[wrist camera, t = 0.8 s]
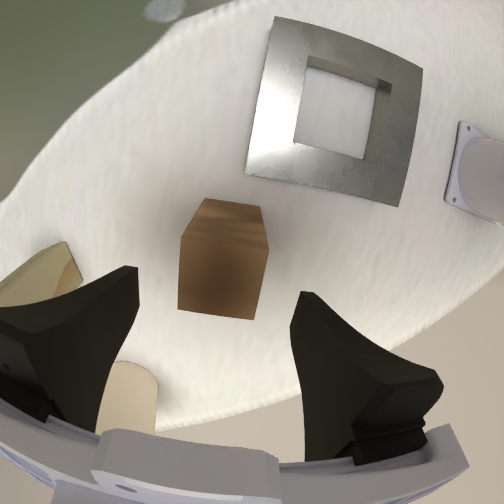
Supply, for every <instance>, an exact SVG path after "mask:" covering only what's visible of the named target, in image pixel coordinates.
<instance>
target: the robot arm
mask: <svg viewBox="0 0 504 504" xmlns="http://www.w3.org/2000/svg"><path fill="white" fill-rule="evenodd" d="M467 128H468V130H467ZM453 198H454V200H453ZM445 200H446V202H447V203H449V204H452V205H454V206H457V207H459V208H461V209H464V210H466V211H468V212H471V213H473V214H475V215H478V216H480V217H482V218H484V219H486V220H489V221H491V222H493V223H496V222H499V223H501V224H503V225H504V141H499V140H494V139H490V138H488V137H487V136H486V135H484V134H483V133H482V132H480V131H479V130H478V129H476V128H475V127H473V126H472V125H470V124H469V123H467V122H466V121H461V122H460V125H459V132H458V139H457V145H456V150H455V156H454V161H453V166H452V171H451V175H450V179H449V184H448V188H447V192H446V196H445ZM452 200H453V201H452ZM139 306H140V303H139V283H138V267H132V266H126V265H125V266H123V267H120V268H118V269H116V270H114V271H112V272H110V273H108V274H107V275H105V276H103V277H101V278H99V279H97V280H95V281H93V282H91V283H89V284H87V285H85V286H82V287H80V288H78V289H76V290H74V291H71V292H69V293H66V294H63V295H61V296H58V297H55V298H51V299H47V300H44V301H40V302H36V303H31V304H26V305H19V306H9V307H0V455H1V456H3V457H4V458H5V459H7V460H8V461H9V462H11V463H12V464H14V465H15V466H17V467H18V468H19V469H21V470H22V471H24V472H25V473H27V474H29V475H30V476H32V477H33V478H35V479H37V480H38V481H40V482H42V483H44V484H45V485H47V486H49V487H50V488H52V489H54V494H53V497H52V501H51V504H407V503H410V502H412V501H415V500H417V499H419V498H422V497H424V496H426V495H428V494H430V493H432V492H434V491H435V490H437V489H439V488H440V487H442V486H443V485H445V484H447V483H448V482H450V481H451V480H453V479H454V478H455V477H457V476H458V475H460V474H461V473H463V472H464V471H466V470H467V469H468V468H469V464H468V462H467V459H466V457H465V455H464V453H463V451H462V449H461V447H460V444H459V442H458V440H457V438H456V436H455V434H454V432H453V430H452V428H451V426H450V424H445V425H442V426H439V427H436V428H433V429H431V430H429V431H427V432H425V433H424V432H423V429H422V427H424V426H425V421H424V419H423V416H424V415H425V414H426V413H427V412H428V411H429V410H430V409H431V408H432V407H433V405H434V404H435V403H436V402H437V401H438V399H439V398H440V396H441V394H442V392H443V388H444V385H443V383H442V381H441V380H440V378H439V376H438V375H437V373H436V371H435V370H433V369H430V368H427V367H424V366H421V365H418V364H415V363H412V362H410V361H408V360H405V359H403V358H401V357H399V356H397V355H395V354H393V353H390V352H389V351H387V350H385V349H383V348H382V347H380V346H378V345H377V344H375V343H373V342H372V341H370V340H369V339H368V338H366V337H365V336H363V335H362V334H361V333H359V332H358V331H357V330H355V329H354V328H353V327H352V326H350V325H349V324H348V323H347V322H346V321H345V320H343V319H342V318H341V317H340V316H339V315H338V314H337V313H336V312H335V311H334V310H333V309H331V308H330V307H329V306H328V305H327V304H326V303H325V302H324V301H323V300H322V299H321V298H320V297H319V296H318V295H316V294H315V293H314V292H305V291H301V292H300V295H299V298H298V302H297V305H296V308H295V311H294V315H293V318H292V321H291V324H290V339H291V347H292V352H293V356H294V361H295V365H296V369H297V373H298V378H299V382H300V387H301V392H302V402H303V413H304V427H305V428H304V429H305V462H296V463H279V461H278V458H276V457H275V456H273V455H271V454H269V453H267V452H264V451H262V450H255V449H248V448H241V447H229V446H218V445H208V444H201V443H193V442H186V441H181V440H175V439H170V438H164V437H160V436H155V435H151V434H146V433H142V432H138V431H133V430H126V429H120V428H116V429H112V430H107V431H103V432H102V435H101V436H100V435H97V434H95V431H96V424H97V419H98V414H99V409H100V405H101V401H102V397H103V393H104V390H105V386H106V383H107V380H108V377H109V374H110V371H111V368H112V365H113V363H114V360H115V358H116V356H117V354H118V352H119V350H120V348H121V346H122V344H123V343H124V341H125V339H126V337H127V335H128V333H129V331H130V329H131V327H132V325H133V323H134V320H135V318H136V315H137V312H138V309H139Z"/></svg>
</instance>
